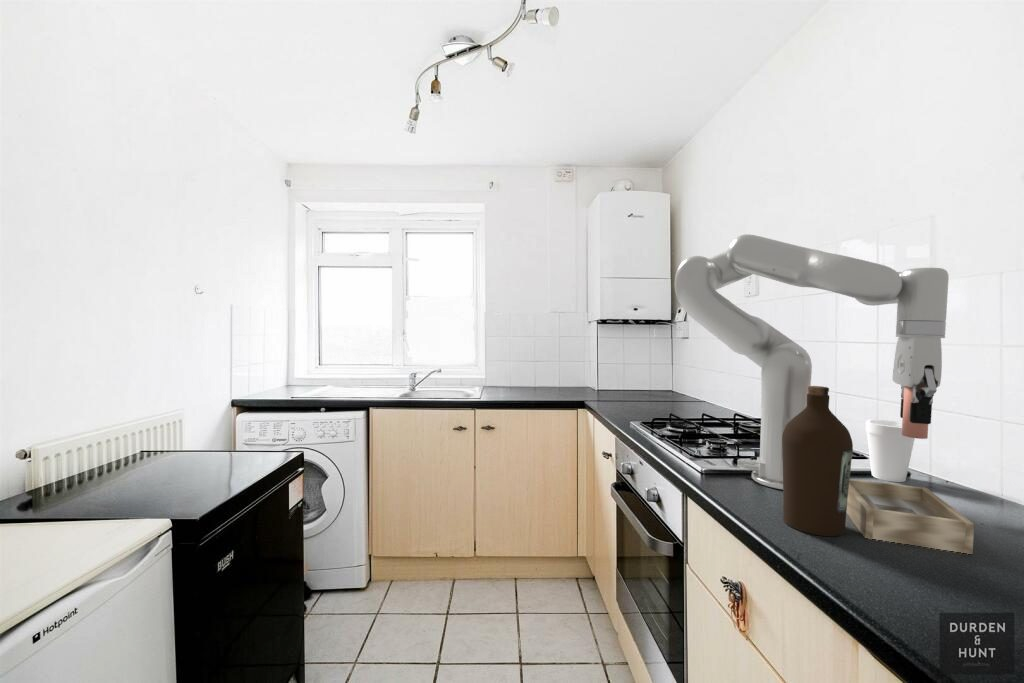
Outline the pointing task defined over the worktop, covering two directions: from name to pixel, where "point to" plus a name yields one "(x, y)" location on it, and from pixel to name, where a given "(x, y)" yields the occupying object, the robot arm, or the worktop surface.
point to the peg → (908, 427)
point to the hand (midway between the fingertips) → (915, 420)
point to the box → (907, 516)
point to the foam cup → (888, 450)
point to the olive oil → (816, 468)
